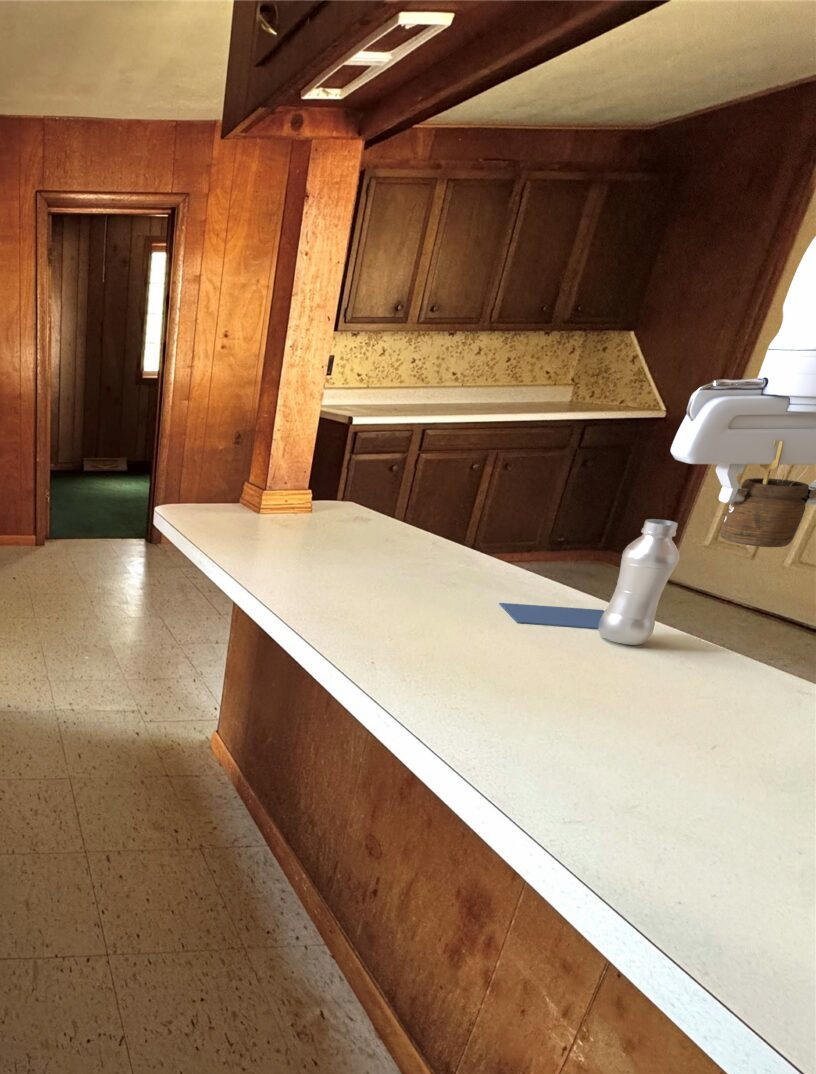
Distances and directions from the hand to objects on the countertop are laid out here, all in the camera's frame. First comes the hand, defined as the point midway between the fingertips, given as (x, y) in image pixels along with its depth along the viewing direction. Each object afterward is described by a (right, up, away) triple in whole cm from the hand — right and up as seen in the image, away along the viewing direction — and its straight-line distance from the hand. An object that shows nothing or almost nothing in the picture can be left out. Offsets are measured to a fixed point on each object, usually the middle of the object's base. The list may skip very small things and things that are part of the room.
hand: (768, 502), depth 76 cm
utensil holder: (0, -4, +2) cm, 5 cm away
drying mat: (+9, -14, +41) cm, 44 cm away
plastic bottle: (+12, -18, +31) cm, 38 cm away
